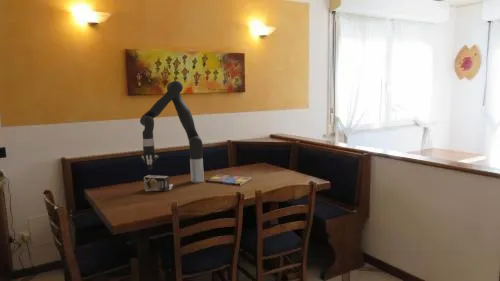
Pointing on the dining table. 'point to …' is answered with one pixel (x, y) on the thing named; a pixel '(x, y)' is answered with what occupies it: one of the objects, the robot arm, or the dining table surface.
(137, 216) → the dining table surface
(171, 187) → the mat
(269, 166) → the dining table surface
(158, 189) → the coffee box
